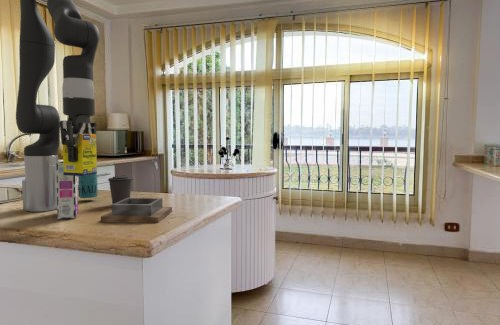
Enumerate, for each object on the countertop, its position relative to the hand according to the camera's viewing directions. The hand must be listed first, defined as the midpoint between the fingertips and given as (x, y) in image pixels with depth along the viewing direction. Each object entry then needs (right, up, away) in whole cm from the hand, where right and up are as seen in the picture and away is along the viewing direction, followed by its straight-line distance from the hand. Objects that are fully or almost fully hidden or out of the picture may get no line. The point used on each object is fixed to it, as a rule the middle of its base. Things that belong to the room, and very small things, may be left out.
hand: (80, 160), depth 92 cm
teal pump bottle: (-14, -15, +34) cm, 39 cm away
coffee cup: (+1, -15, +26) cm, 30 cm away
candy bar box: (-9, -16, +11) cm, 21 cm away
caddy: (+12, -16, +10) cm, 23 cm away
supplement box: (0, -4, 0) cm, 4 cm away
